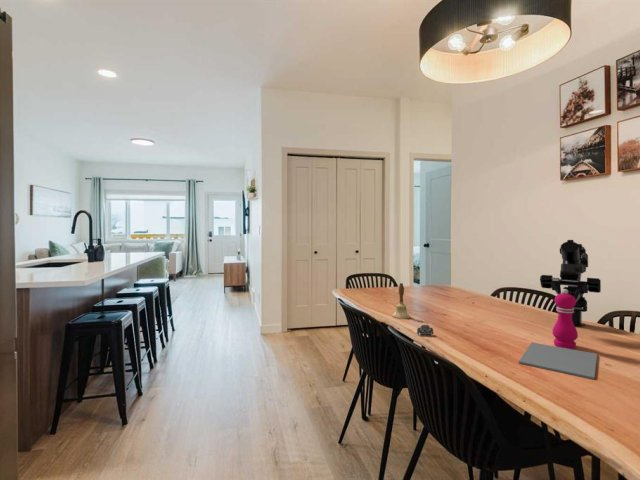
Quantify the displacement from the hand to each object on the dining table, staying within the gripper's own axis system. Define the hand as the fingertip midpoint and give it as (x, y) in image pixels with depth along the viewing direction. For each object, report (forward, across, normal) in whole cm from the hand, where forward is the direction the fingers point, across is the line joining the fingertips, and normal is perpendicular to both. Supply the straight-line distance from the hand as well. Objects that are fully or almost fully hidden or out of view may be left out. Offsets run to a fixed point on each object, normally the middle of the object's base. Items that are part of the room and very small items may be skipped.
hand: (567, 301), depth 127 cm
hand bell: (+17, -63, +2) cm, 66 cm away
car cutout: (+30, -40, -9) cm, 50 cm away
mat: (+29, 0, -10) cm, 31 cm away
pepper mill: (+18, 0, +1) cm, 18 cm away
